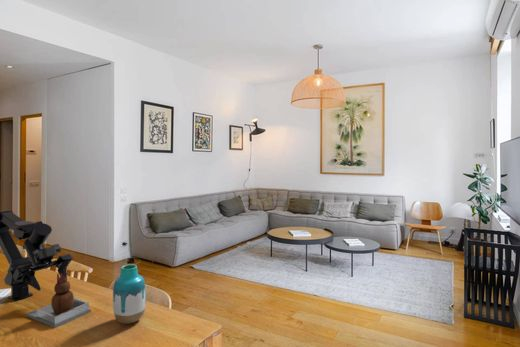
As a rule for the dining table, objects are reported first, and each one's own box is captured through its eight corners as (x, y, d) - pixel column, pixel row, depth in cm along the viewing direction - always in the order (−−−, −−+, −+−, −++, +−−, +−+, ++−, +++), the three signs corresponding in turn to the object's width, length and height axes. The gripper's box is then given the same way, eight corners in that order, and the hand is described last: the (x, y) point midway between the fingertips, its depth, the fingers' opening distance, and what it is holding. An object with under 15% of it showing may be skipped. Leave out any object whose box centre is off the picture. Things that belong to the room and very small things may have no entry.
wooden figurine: (57, 318, 114) (55, 276, 113) (49, 314, 117) (47, 273, 117) (77, 311, 120) (75, 270, 119) (68, 307, 123) (67, 267, 122)
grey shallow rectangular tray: (26, 316, 118) (26, 306, 118) (63, 301, 130) (62, 293, 129) (54, 328, 110) (54, 317, 110) (90, 311, 121) (90, 302, 121)
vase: (152, 316, 118) (151, 263, 117) (132, 330, 108) (130, 273, 107) (128, 311, 122) (127, 260, 121) (106, 325, 112) (104, 270, 111)
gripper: (15, 244, 115) (32, 282, 110) (69, 233, 131) (86, 265, 126) (5, 262, 119) (21, 299, 114) (58, 249, 135) (75, 281, 130)
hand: (53, 285), depth 121 cm, fingers open, 9 cm apart
